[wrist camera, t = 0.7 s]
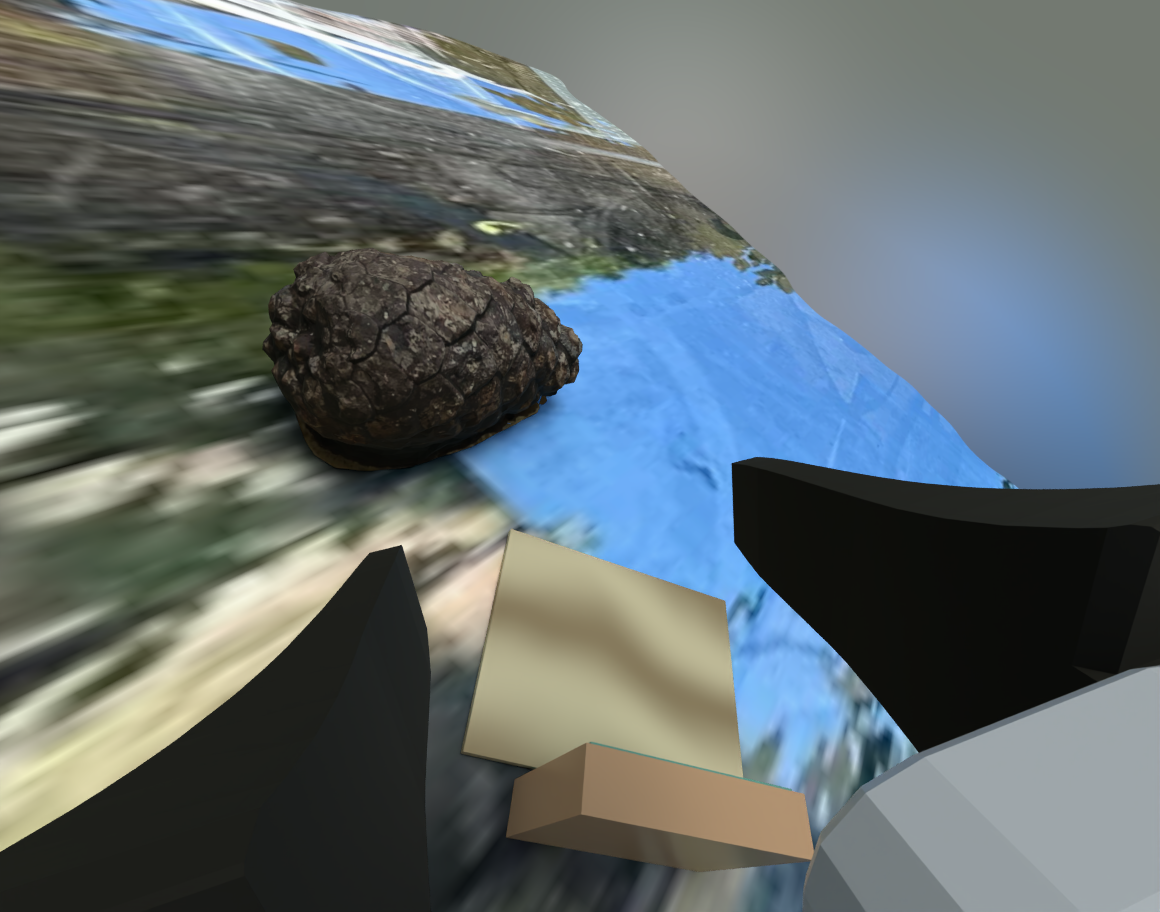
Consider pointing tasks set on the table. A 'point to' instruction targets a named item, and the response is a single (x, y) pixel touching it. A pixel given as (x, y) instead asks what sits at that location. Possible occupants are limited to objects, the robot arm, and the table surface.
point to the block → (658, 812)
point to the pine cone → (410, 356)
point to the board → (601, 664)
